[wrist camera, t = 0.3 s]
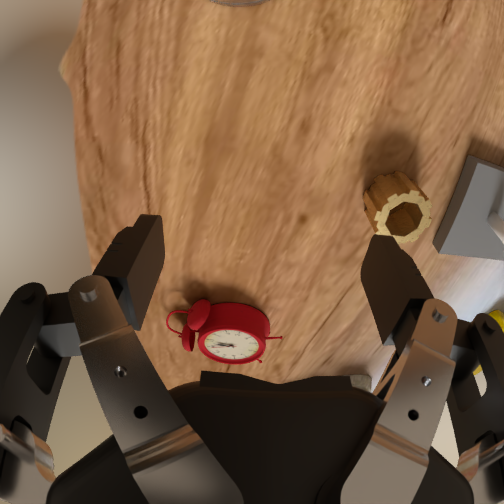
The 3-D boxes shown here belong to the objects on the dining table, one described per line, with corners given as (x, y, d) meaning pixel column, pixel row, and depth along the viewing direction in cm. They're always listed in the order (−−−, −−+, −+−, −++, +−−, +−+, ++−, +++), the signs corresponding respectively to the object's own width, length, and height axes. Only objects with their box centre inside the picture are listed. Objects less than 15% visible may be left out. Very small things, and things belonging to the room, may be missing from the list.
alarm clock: (260, 371, 45) (162, 368, 39) (252, 337, 49) (161, 331, 44) (291, 335, 39) (174, 329, 33) (279, 298, 43) (172, 287, 37)
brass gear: (371, 166, 27) (385, 185, 24) (424, 177, 27) (441, 196, 24) (356, 220, 31) (366, 243, 28) (405, 226, 31) (418, 248, 28)
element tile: (438, 352, 50) (445, 372, 46) (494, 305, 41) (505, 325, 38) (468, 361, 54) (474, 378, 50) (516, 322, 46) (524, 339, 42)
